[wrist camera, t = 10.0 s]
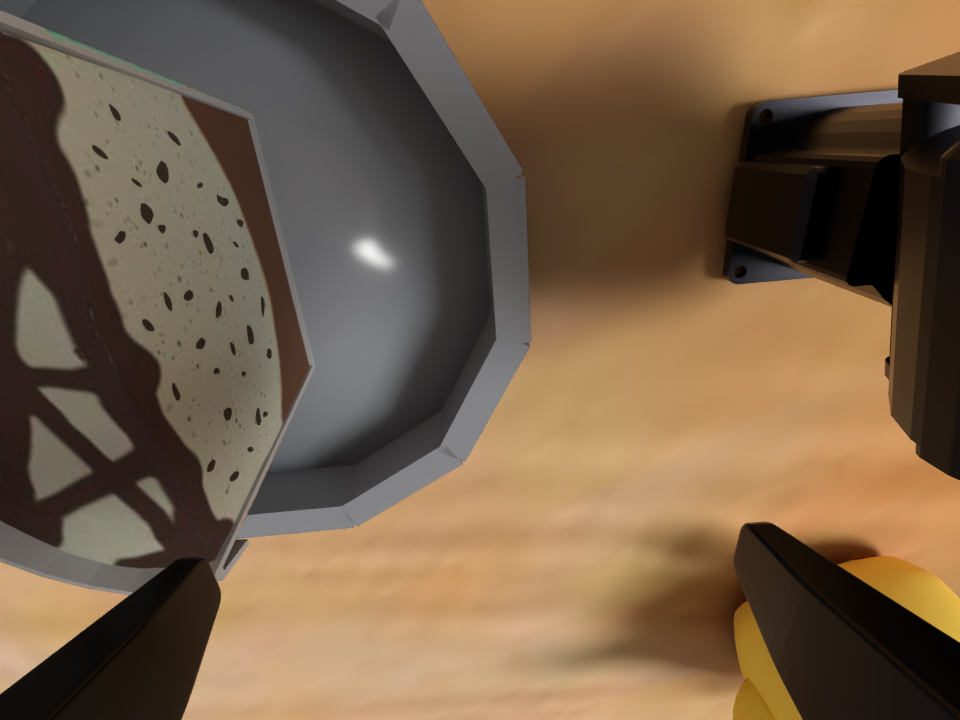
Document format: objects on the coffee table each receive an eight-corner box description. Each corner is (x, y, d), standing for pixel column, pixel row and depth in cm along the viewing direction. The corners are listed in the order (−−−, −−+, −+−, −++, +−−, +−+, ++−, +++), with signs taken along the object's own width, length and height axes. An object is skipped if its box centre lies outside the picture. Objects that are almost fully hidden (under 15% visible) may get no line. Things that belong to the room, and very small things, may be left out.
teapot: (811, 697, 33) (952, 916, 24) (658, 658, 30) (749, 890, 21) (964, 564, 28) (1221, 777, 18) (797, 504, 25) (999, 719, 16)
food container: (42, 73, 15) (-624, -33, 6) (239, 58, 15) (-105, -71, 6) (178, 411, 20) (-53, 637, 11) (323, 398, 20) (213, 612, 11)
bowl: (500, -108, 14) (513, -180, 11) (525, 459, 23) (536, 510, 20) (-206, -51, 14) (-403, -107, 11) (96, 499, 23) (38, 557, 19)
